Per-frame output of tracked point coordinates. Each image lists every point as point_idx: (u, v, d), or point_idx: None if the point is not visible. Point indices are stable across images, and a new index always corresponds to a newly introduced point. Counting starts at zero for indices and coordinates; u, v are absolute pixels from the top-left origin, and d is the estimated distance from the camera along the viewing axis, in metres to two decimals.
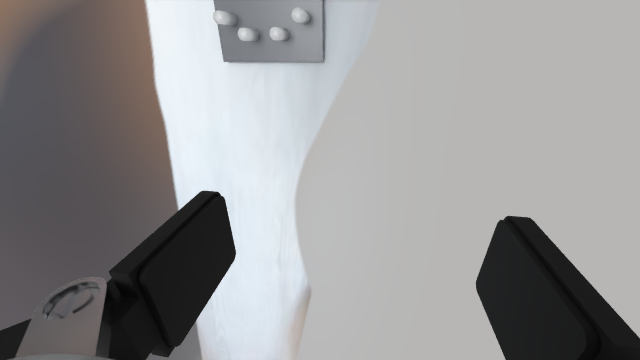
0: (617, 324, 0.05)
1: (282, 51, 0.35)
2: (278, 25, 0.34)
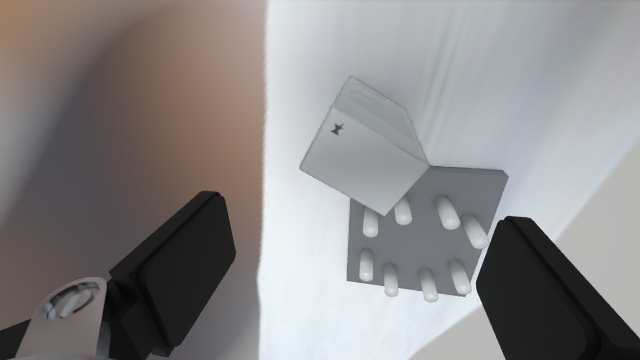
0: (617, 324, 0.05)
1: (419, 283, 0.31)
2: (420, 264, 0.30)
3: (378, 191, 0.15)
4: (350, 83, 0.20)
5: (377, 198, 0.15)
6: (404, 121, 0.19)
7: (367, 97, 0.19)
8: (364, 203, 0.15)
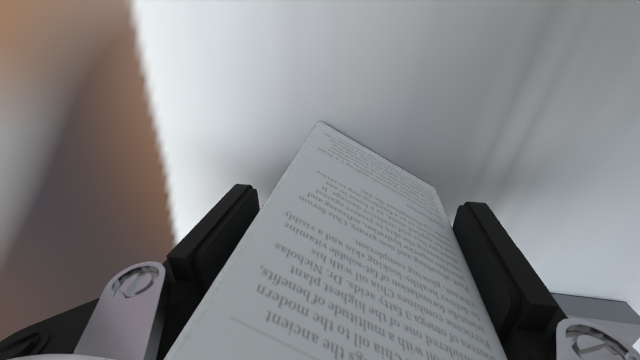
0: (537, 287, 0.05)
1: None
2: None
3: None
4: (308, 157, 0.08)
5: None
6: (456, 280, 0.07)
7: (350, 206, 0.07)
8: None
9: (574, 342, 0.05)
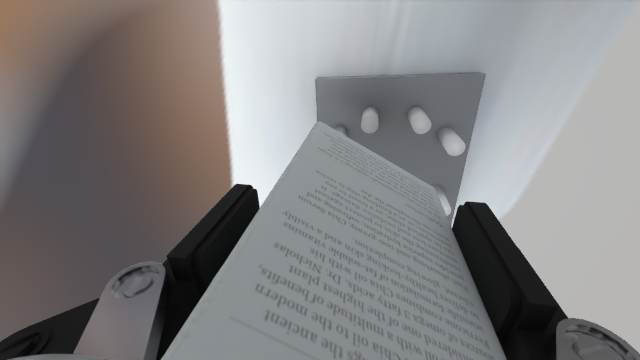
0: (537, 287, 0.05)
1: None
2: None
3: None
4: (307, 157, 0.08)
5: None
6: (455, 279, 0.07)
7: (349, 206, 0.07)
8: None
9: (574, 342, 0.05)
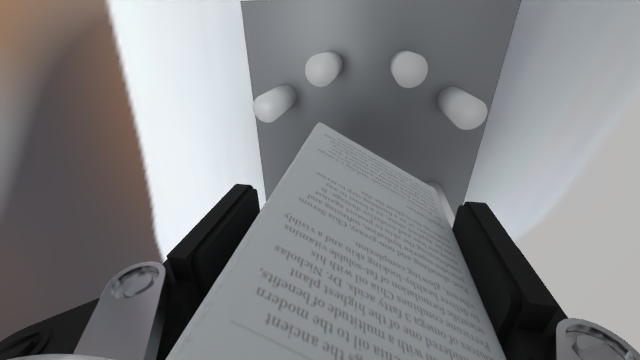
0: (537, 287, 0.05)
1: None
2: None
3: None
4: (307, 159, 0.08)
5: None
6: (456, 281, 0.07)
7: (350, 208, 0.07)
8: None
9: (574, 342, 0.05)
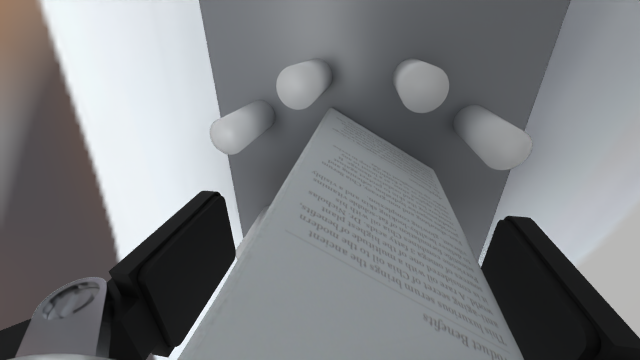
0: (617, 324, 0.05)
1: None
2: None
3: None
4: (325, 134, 0.09)
5: None
6: (451, 236, 0.08)
7: (362, 174, 0.08)
8: None
9: None
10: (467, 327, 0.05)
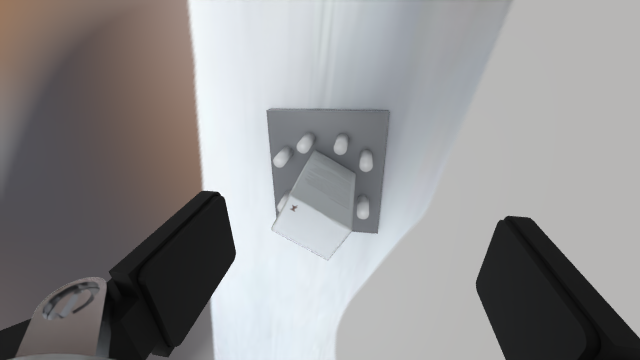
0: (617, 324, 0.05)
1: None
2: None
3: (321, 244, 0.23)
4: (311, 161, 0.28)
5: (322, 249, 0.23)
6: (347, 190, 0.27)
7: (322, 172, 0.28)
8: (314, 252, 0.23)
9: None
10: (339, 202, 0.24)
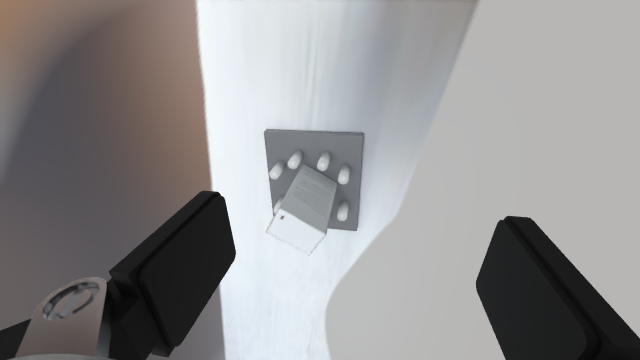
0: (617, 324, 0.05)
1: None
2: None
3: (304, 244, 0.30)
4: (299, 175, 0.35)
5: (304, 247, 0.30)
6: (327, 199, 0.34)
7: (307, 185, 0.35)
8: (298, 249, 0.31)
9: None
10: (319, 211, 0.31)
